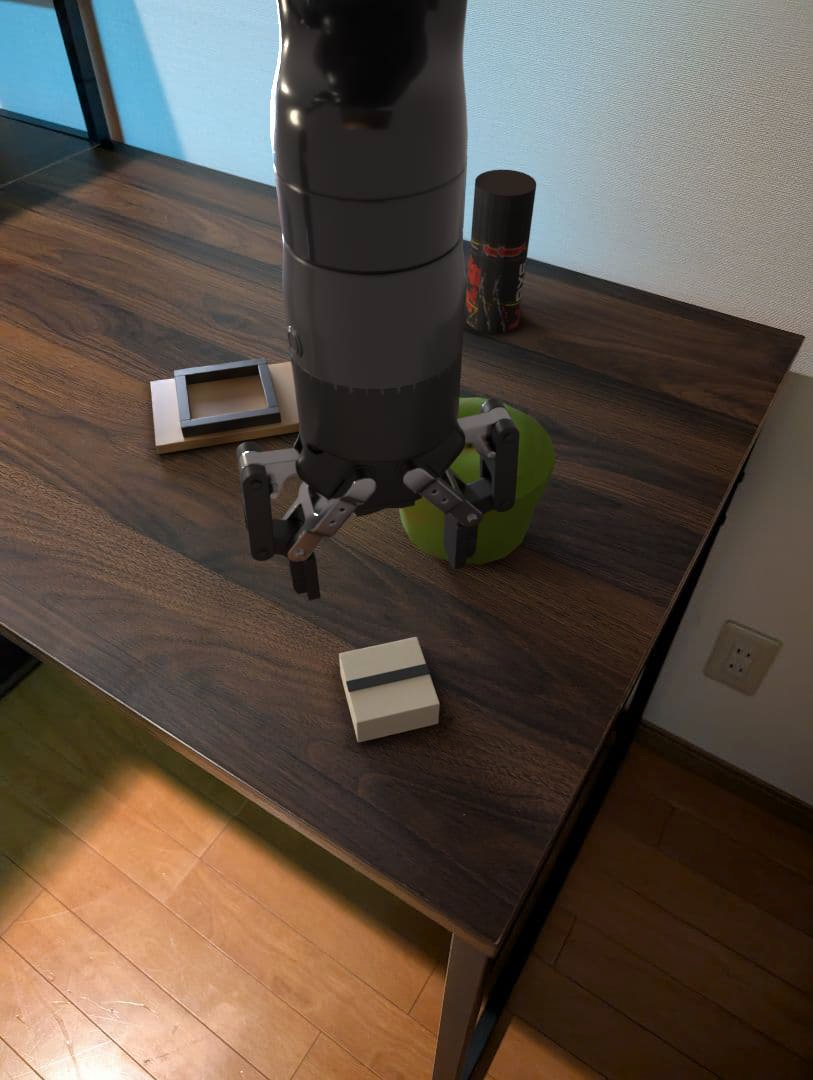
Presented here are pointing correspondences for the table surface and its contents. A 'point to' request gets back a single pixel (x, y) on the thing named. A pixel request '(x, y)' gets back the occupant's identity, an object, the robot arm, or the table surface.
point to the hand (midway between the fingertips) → (383, 573)
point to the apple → (495, 528)
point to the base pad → (223, 404)
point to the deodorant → (499, 249)
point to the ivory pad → (388, 689)
